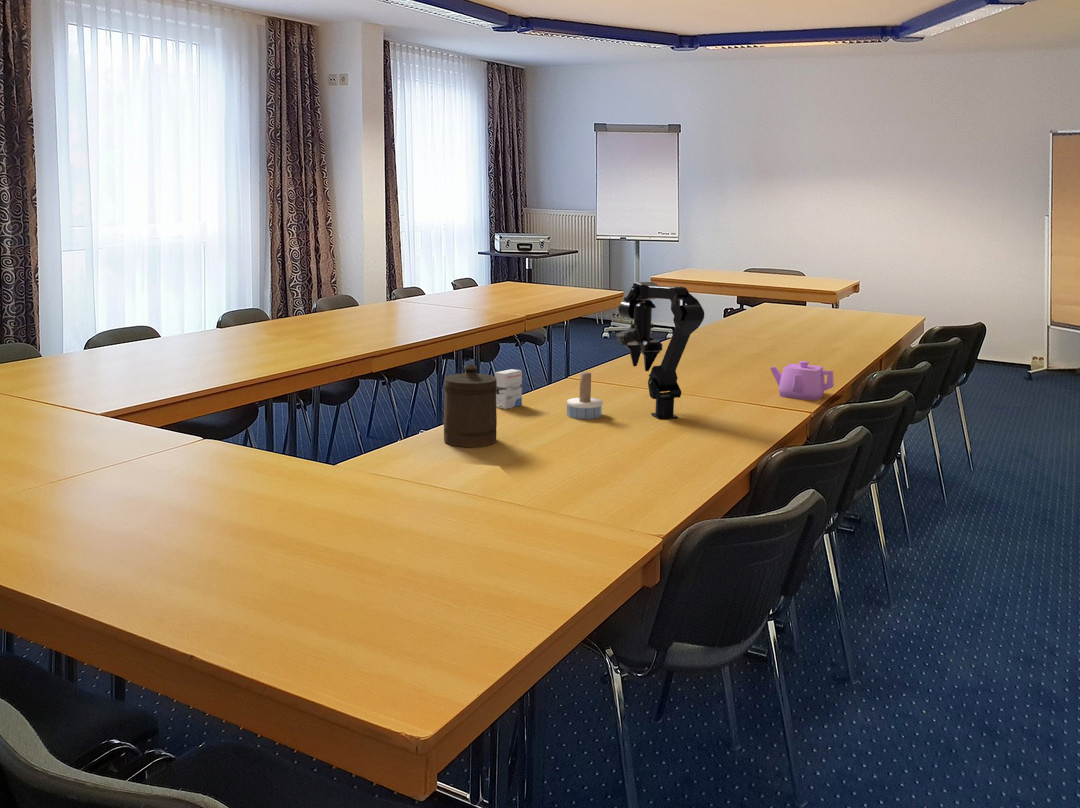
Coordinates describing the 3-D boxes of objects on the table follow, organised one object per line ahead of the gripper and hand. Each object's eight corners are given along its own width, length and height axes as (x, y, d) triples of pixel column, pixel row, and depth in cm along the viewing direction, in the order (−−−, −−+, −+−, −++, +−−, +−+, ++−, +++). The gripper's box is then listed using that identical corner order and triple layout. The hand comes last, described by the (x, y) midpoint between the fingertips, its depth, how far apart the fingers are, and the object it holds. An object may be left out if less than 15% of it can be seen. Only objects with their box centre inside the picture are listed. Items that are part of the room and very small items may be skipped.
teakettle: (836, 399, 331) (839, 364, 328) (793, 402, 326) (796, 366, 323) (808, 389, 347) (810, 356, 344) (767, 392, 342) (769, 358, 339)
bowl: (606, 418, 299) (606, 407, 298) (573, 419, 296) (573, 408, 295) (594, 410, 309) (594, 399, 308) (562, 412, 306) (563, 401, 305)
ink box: (511, 403, 318) (511, 368, 316) (522, 405, 315) (522, 370, 313) (494, 407, 312) (494, 371, 309) (505, 409, 309) (505, 373, 306)
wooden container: (502, 436, 276) (502, 361, 271) (488, 449, 261) (489, 370, 257) (452, 432, 279) (452, 358, 274) (437, 445, 264) (436, 367, 260)
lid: (607, 407, 298) (608, 375, 296) (573, 409, 295) (574, 377, 293) (595, 399, 309) (596, 369, 306) (562, 401, 305) (563, 370, 303)
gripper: (608, 318, 314) (606, 364, 317) (631, 325, 297) (630, 375, 300) (639, 317, 318) (637, 363, 321) (664, 324, 300) (662, 373, 304)
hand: (640, 368), depth 311 cm, fingers open, 9 cm apart
